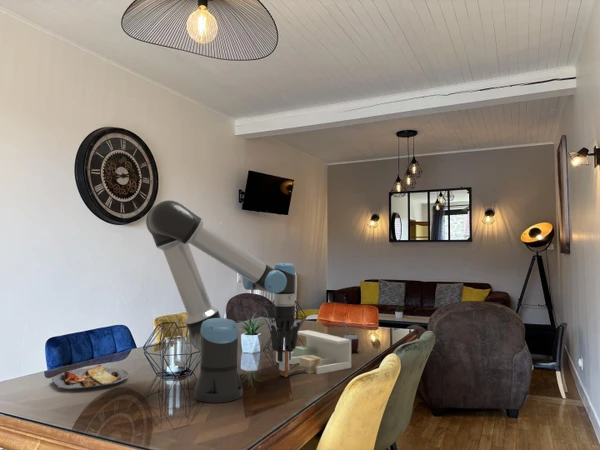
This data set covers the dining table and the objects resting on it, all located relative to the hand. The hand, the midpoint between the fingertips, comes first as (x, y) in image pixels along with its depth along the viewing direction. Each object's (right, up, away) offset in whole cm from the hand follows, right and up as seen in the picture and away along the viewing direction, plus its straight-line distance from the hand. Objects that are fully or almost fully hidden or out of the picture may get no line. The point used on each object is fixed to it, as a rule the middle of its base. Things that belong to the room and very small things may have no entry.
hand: (284, 369), depth 170 cm
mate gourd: (+29, -5, +41) cm, 51 cm away
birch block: (+6, -3, +5) cm, 8 cm away
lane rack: (+11, -4, +19) cm, 22 cm away
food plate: (-67, -2, -9) cm, 68 cm away
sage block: (+3, -4, +25) cm, 25 cm away
